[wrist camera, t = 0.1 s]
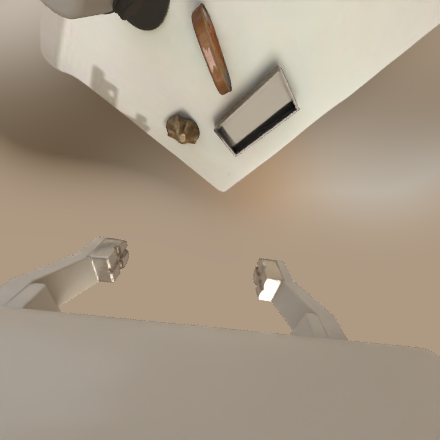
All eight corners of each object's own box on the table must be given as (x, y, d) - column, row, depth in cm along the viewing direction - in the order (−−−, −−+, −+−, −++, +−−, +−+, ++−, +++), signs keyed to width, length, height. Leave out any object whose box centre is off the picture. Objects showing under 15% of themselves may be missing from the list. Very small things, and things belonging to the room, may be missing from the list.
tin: (232, 86, 44) (232, 94, 39) (222, 92, 46) (220, 100, 40) (206, 4, 34) (200, -2, 29) (193, 14, 36) (185, 11, 30)
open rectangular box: (277, 65, 41) (281, 68, 38) (295, 104, 47) (299, 109, 44) (215, 124, 52) (213, 130, 49) (235, 150, 58) (235, 157, 55)
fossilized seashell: (162, 134, 53) (191, 149, 58) (163, 134, 47) (195, 150, 52) (170, 110, 51) (199, 127, 56) (172, 106, 45) (204, 126, 50)
